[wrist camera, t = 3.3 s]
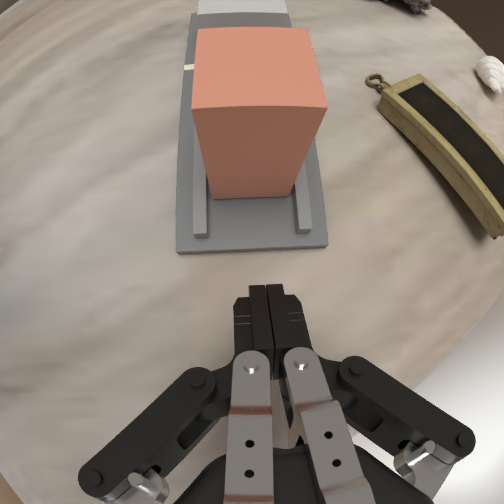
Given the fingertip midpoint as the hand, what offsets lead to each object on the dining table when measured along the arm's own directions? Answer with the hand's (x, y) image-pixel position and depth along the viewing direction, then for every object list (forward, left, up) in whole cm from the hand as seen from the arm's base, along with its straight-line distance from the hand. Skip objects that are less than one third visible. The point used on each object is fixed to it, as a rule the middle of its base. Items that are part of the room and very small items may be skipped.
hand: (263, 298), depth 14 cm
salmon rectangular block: (-5, +10, -9) cm, 14 cm away
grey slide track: (-9, +17, -10) cm, 22 cm away
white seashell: (+19, +44, -11) cm, 48 cm away
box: (+11, +23, -11) cm, 28 cm away
